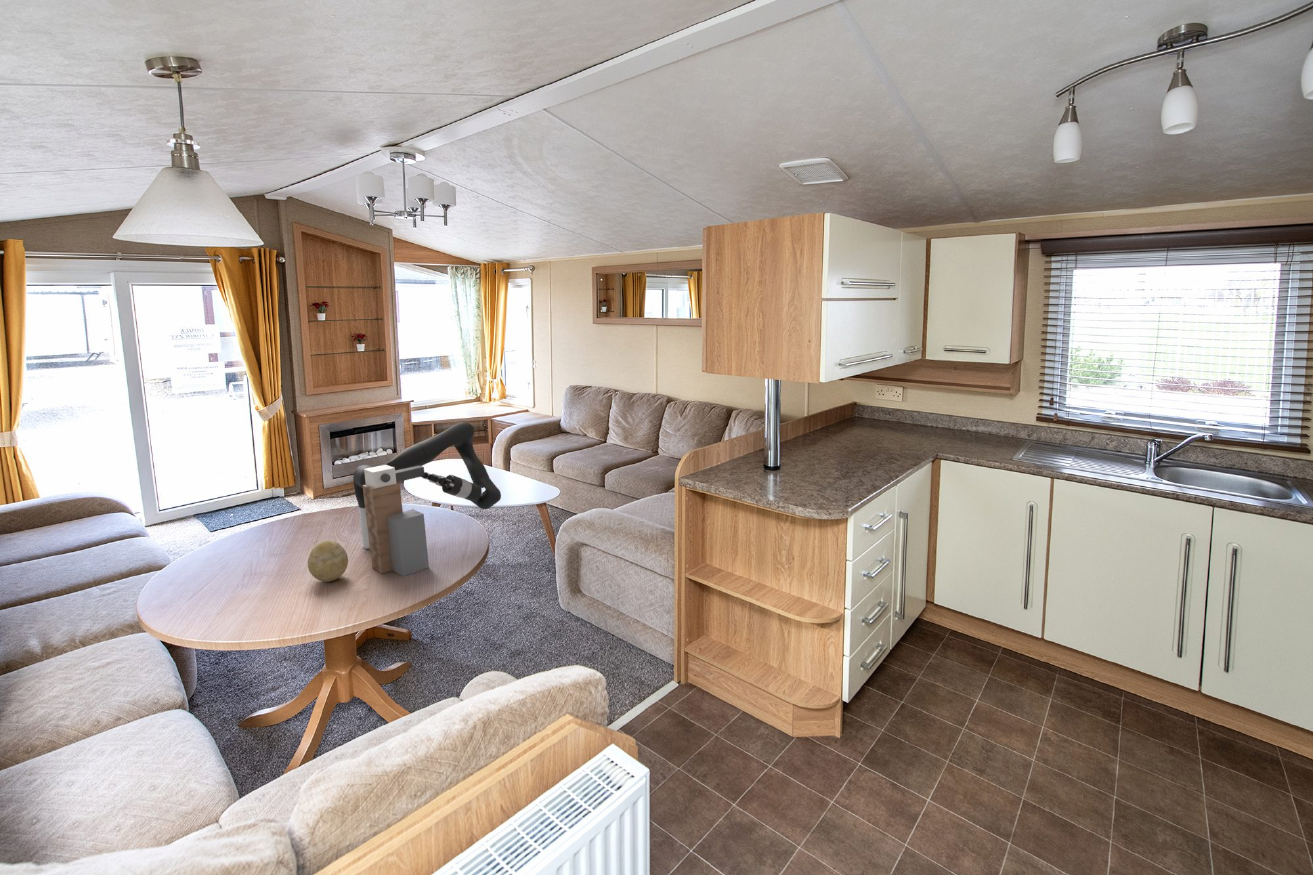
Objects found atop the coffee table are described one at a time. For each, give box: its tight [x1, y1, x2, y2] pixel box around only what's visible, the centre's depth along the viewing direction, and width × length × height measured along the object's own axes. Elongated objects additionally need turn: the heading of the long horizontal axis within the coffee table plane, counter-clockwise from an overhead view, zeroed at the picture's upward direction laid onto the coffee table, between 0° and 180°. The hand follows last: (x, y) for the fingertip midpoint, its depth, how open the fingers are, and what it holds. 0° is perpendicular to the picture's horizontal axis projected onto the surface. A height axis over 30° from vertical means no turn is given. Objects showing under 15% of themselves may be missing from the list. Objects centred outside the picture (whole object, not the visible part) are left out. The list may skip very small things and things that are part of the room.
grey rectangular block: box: [387, 509, 430, 577], centre depth 231 cm, size 8×10×21 cm
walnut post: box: [363, 482, 404, 575], centre depth 232 cm, size 8×10×32 cm
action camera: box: [364, 464, 425, 489], centre depth 232 cm, size 9×20×6 cm, turn 138°
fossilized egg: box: [307, 539, 349, 583], centre depth 223 cm, size 13×13×15 cm
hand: (422, 474), depth 240 cm, fingers open, 8 cm apart
